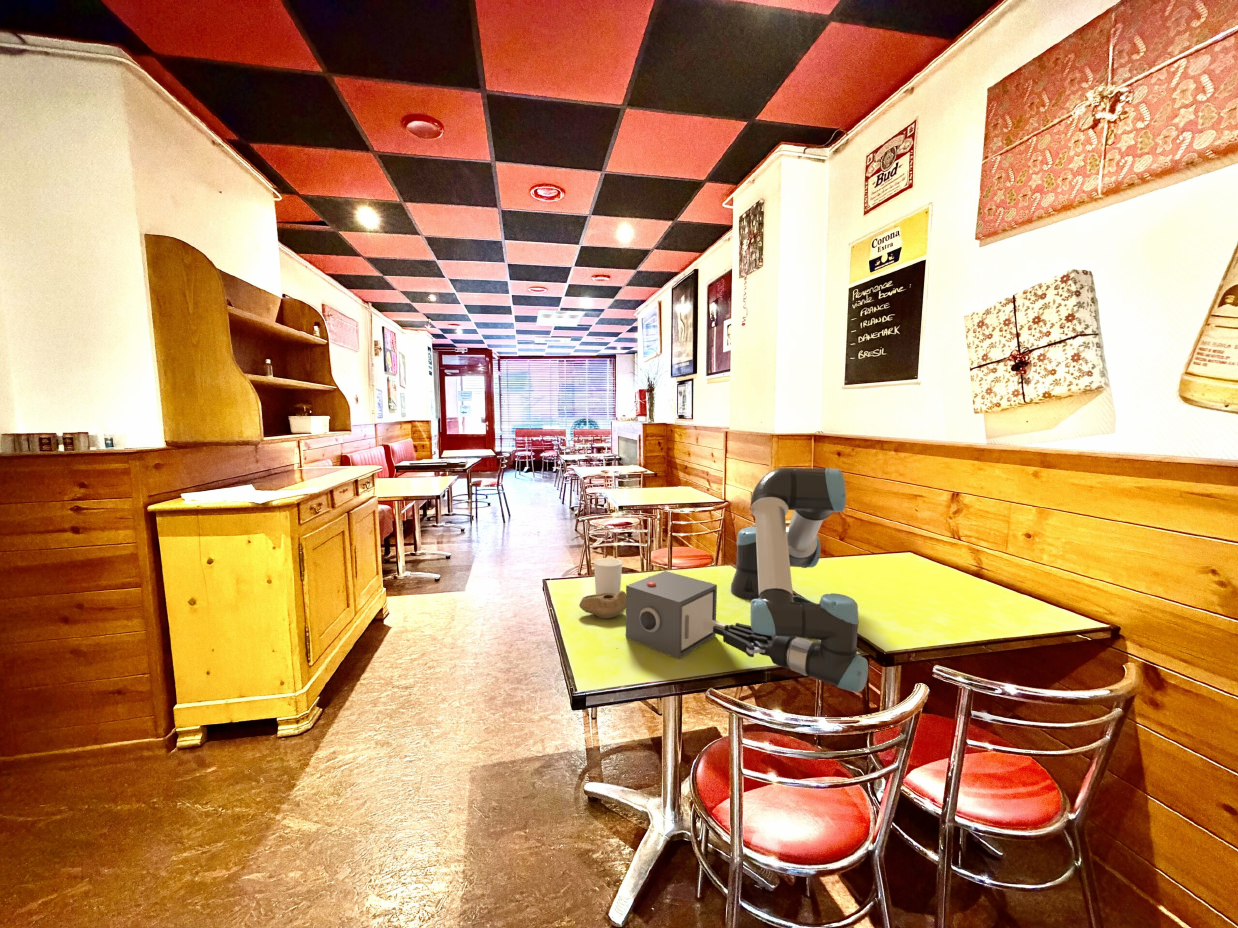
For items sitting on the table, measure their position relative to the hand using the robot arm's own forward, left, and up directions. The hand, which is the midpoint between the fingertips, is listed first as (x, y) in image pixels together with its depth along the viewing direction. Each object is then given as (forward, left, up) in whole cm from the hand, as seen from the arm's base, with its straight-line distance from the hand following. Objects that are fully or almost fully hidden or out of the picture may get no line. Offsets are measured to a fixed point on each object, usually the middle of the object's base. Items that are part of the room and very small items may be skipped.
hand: (705, 623), depth 127 cm
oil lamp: (+20, -30, -8) cm, 36 cm away
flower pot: (-30, -2, -8) cm, 31 cm away
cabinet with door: (+5, -10, -7) cm, 13 cm away
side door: (+1, -2, -6) cm, 6 cm away
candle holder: (+14, -46, -7) cm, 48 cm away
